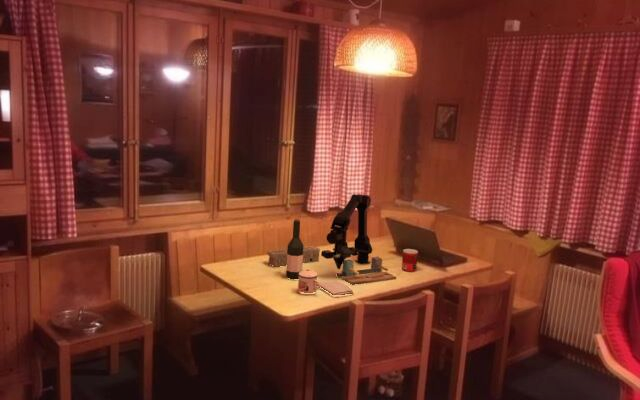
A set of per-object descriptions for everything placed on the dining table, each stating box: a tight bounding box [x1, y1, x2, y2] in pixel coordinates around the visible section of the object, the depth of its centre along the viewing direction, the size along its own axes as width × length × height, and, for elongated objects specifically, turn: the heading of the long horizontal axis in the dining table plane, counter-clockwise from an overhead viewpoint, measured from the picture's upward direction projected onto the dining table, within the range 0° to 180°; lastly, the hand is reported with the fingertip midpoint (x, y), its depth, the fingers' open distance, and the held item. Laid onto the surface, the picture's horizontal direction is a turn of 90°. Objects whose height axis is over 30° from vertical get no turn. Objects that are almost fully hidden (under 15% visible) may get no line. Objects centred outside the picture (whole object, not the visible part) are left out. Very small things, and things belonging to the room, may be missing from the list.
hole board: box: [342, 271, 397, 286], centre depth 291 cm, size 9×27×1 cm, turn 119°
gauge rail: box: [335, 256, 389, 278], centre depth 295 cm, size 12×27×8 cm, turn 119°
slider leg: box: [341, 258, 359, 277], centre depth 291 cm, size 12×4×8 cm, turn 29°
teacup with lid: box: [297, 267, 321, 293], centre depth 265 cm, size 12×9×12 cm
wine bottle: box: [285, 218, 304, 279], centre depth 284 cm, size 8×8×30 cm
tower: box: [266, 245, 321, 268], centre depth 310 cm, size 8×8×29 cm
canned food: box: [401, 248, 419, 273], centre depth 309 cm, size 8×8×11 cm
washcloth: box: [317, 279, 354, 295], centre depth 272 cm, size 12×18×3 cm, turn 33°
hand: (338, 269), depth 292 cm, fingers closed
